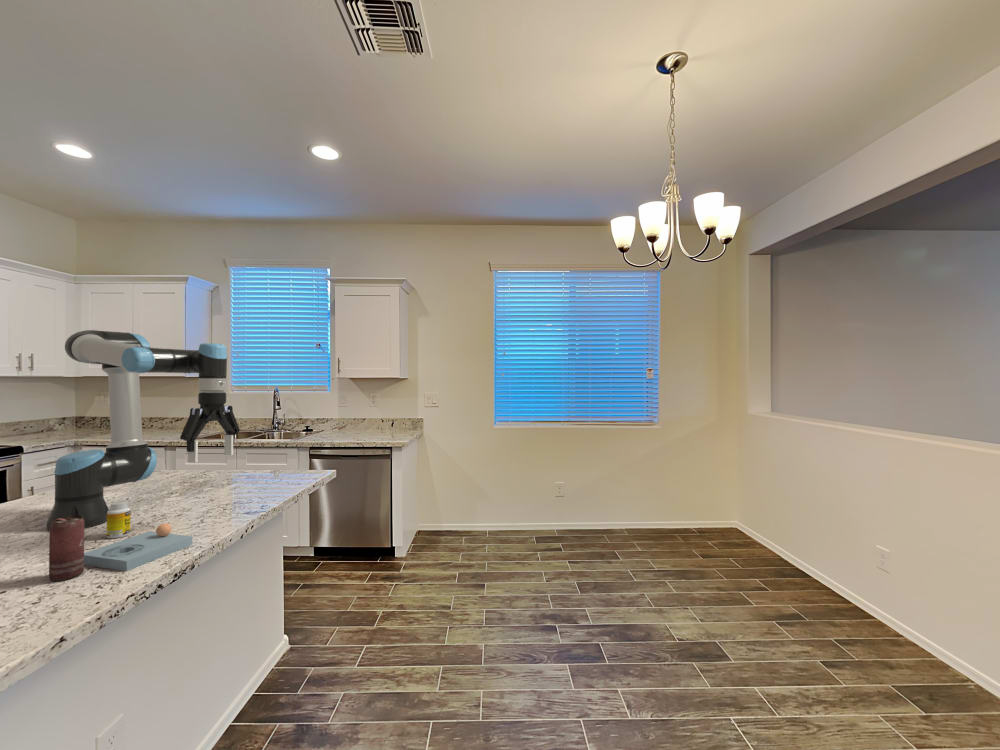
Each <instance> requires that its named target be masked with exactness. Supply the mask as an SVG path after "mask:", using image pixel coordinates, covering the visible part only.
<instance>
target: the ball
mask: <svg viewBox="0 0 1000 750" xmlns="http://www.w3.org/2000/svg"><path fill="white" fill-rule="evenodd" d="M171 531H172V525H171V524H169V523H162V524H160V525H158V526H157V527H156V529H155V532H156V533H157V535H159V536H167V535H168V534H171Z"/></svg>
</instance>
